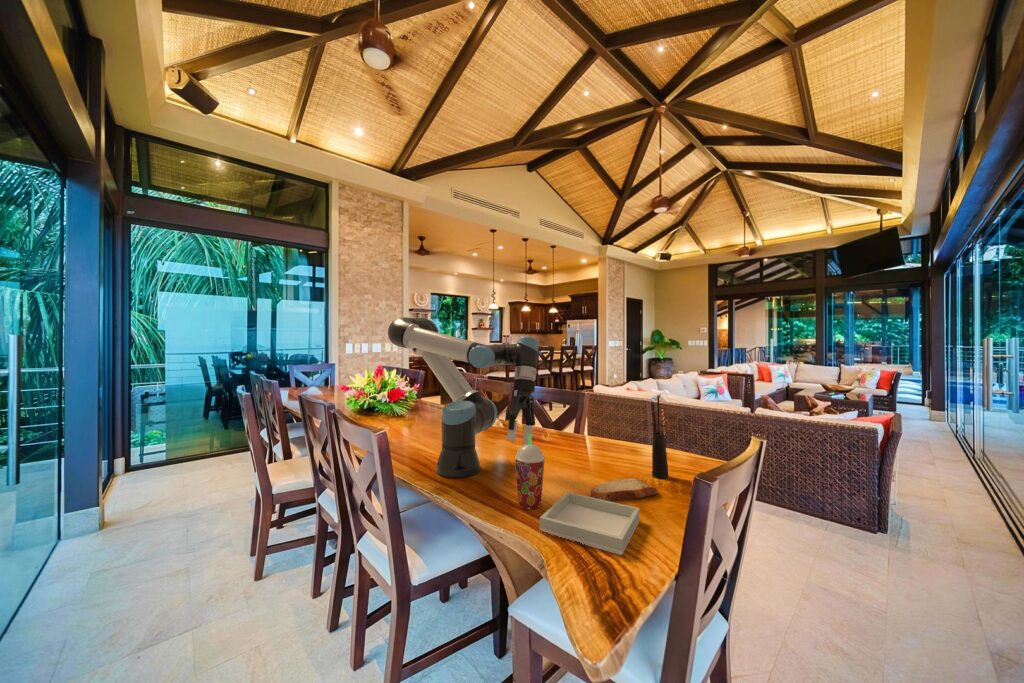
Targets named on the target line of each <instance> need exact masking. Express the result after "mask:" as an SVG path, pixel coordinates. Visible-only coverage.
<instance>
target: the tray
mask: <svg viewBox="0 0 1024 683" xmlns="http://www.w3.org/2000/svg"><path fill="white" fill-rule="evenodd" d="M640 510H641V509H640V507H636V506H633V505H632V506H631V505H628V504H622V503H618V502H615V501H605V500H601V499H596V498H592V497H590V496H587V495H582V494H577V493H574V492H566V493H565V494H563V495H562V496H561V497H560V498H559V499H558V500H557V501H556V502H555V503H554V504H553V505H551V507H549V508H548V509H547V510H545V512H544V513H543V514H542V515H541V516H540V517H539V531H540V530H542V531H544V532H548V533H551V534H554V535H557V536H559V537H558V538H560V537H563V538H566V539H565V540H567V539H570V540H574V541H577V542H580V543H579V544H581V543H582V544H581V545H584V544H585V545H584V546H588V547H592V548H595V549H599V550H601V551H606V552H608V553H612V554H616V555H620V556H623V554H624V553H625V550H626V548H627V546H628V544H629V542H630V541H631V538H632V537H633V534H634V533H635V531H636V529H637V528H638V525H639V523H640V522H641V521H640V516H641V514H640V512H641V511H640ZM563 538H562V539H563ZM570 540H569V541H570ZM574 541H573V542H574ZM577 542H576V543H577Z"/></svg>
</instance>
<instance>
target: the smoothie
mask: <svg viewBox="0 0 1024 683" xmlns="http://www.w3.org/2000/svg"><path fill="white" fill-rule="evenodd" d="M514 458H515V459H514V460H515V461H514V462H515V482H516V485H515V486H516V501H517V503H518V504H519V505H520V506H522V507H524V508H523V509H525V508H530V509H529V510H532V509H531V508H535V509H537V508H539V507H540V503H541V502H542V496H543V495H542V494H543V482H544V470H545V458H546V457H545V455H544V454H543V450H541V448H540V447H539V446H537V445H536V444H534V443H532V436H531V434H529V444H523V445H522V446H521V447H520V448H519V449H518V450H517V452H516V455H515V456H514ZM520 506H519V507H520ZM538 506H539V507H538ZM522 507H521V508H522Z"/></svg>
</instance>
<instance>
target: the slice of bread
mask: <svg viewBox="0 0 1024 683" xmlns="http://www.w3.org/2000/svg"><path fill="white" fill-rule="evenodd" d="M657 494H658V489H657V487H655V486H652V485H649V484H648V483H647V482H645V481H643V480H642V479H640V478H636V477H630V478H629V477H628V478H617V479H611V480H608V481H607V480H606V481H604V482H603V483H599V484H596V485H594V487H592V488H591V490H590V494H589V497H592V498H596V499H601V500H605V501H610V502H619V501H631V500H637V499H638V500H639V499H643V498H648V497H651V496H655V495H657Z"/></svg>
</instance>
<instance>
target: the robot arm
mask: <svg viewBox="0 0 1024 683" xmlns="http://www.w3.org/2000/svg"><path fill="white" fill-rule="evenodd" d="M387 336H388V340H389V341H390V342H391V343H392V344H393V345H394V346H396V347H399V348H403V349H408V350H412V351H413V353H414V354H415V355H416V356H418V357H422V359H423V360H424V362H425V363H426V364H427V366H428V367H429V368H430V370H431V371H432V373H433V374H434V376H435V378H437V380H438V381H439V383H440V384H441V385H442V387H443V389H444V390H445V392H446V393H447V394H448V395H449V397H450V398H451V400H452V402H448V403H447V404H445V405H444V406H443V407H442V412H441V413H442V414H441V419H440V420H441V450H440V453H439V456H438V459H437V462H436V473H437V474H438V475H440V476H442V477H445V478H452V479H455V478H457V479H459V478H468V477H472V476H474V475H476V474H478V473H479V472H480V471H481V462H480V460H479V456H478V452H477V450H476V435H477V434H480V433H482V432H485V431H487V430H489V429H490V428H492V427H493V426H494V425H495V423H496V421H497V418H498V410H497V409H498V408H497V406H496V404H495V403H494V401H492V400H491V399H488V398H486V397H485V398H484V396H483V394H482V393H481V392H480V391H479V390H474V389H473V388H472V386H471V385H470V384H469V382H468V381H467V379H466V378H465V377H464V376H463V374H462V372H460V370H459V368H457V366H456V364H455V363H454V362H453V361H452V359H453V360H458V361H461V362H465V363H468V364H471V366H472V367H474V368H476V369H477V368H478V369H487V368H491V367H498V366H504V365H514V366H515V367H514V377H513V378H514V381H513V389H512V393H511V398H510V401H509V403H508V406H507V410H506V412H505V419H506V420H508V422H507V423H508V425H507V436H506V441H511V442H516V439H517V427H518V426H517V425H518V420H517V418H518V416H519V413H520V411H521V410H522V412H523V418H524V422H525V424H524V426H523V427H524V428H523V436H522V437H523V440H522V444H523V445H525V444H529V434H531V437H532V435H533V434H532V433H533V426H534V427H535V426H536V419H535V418H536V416H535V408H534V407H535V406H534V399H535V398H534V397H531V394H533V393H535V391H536V377H537V374H538V371H537V365H538V354H539V341H538V339H536V338H535V337H532V336H521V337H519V338H518V339H517V342H516V343H501V344H500V343H496V344H495V343H494V344H484V343H480V342H476V341H471V340H468V339H464V338H460V337H456V336H452V335H448V334H444V333H440V330H439V328H438V326H437V323H435V322H434V321H433V320H431V319H429V318H425V317H407V316H406V317H405V316H402V317H398V318H396V319H394V320H392V321H391V323H390V324H389V325H388V329H387Z"/></svg>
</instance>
